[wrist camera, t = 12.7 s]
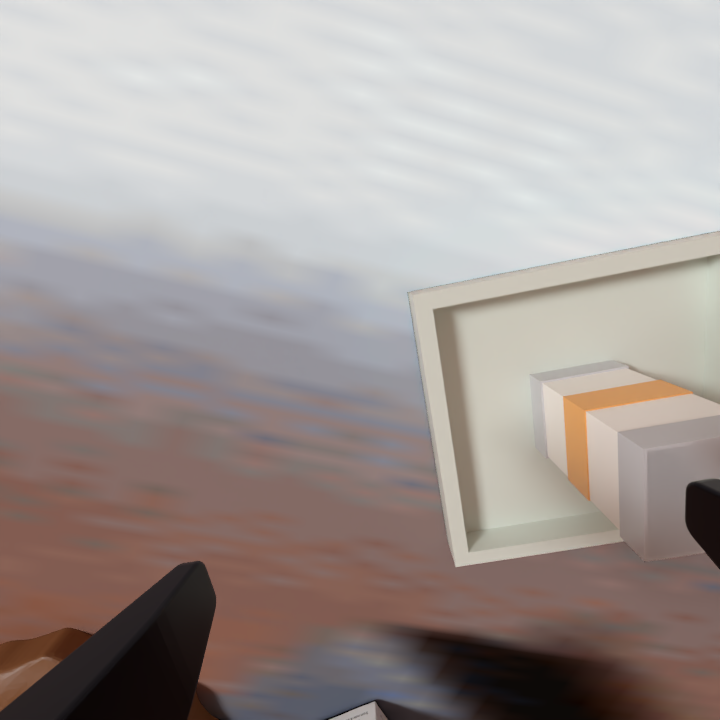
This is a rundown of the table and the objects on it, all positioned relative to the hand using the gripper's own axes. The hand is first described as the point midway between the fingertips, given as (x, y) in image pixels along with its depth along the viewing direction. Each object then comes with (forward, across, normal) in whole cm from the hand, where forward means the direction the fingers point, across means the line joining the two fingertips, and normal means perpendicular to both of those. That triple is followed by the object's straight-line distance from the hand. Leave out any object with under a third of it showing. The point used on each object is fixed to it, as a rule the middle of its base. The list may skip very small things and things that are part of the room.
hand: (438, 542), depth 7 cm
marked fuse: (+12, -9, +4) cm, 16 cm away
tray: (+13, -9, +4) cm, 16 cm away
